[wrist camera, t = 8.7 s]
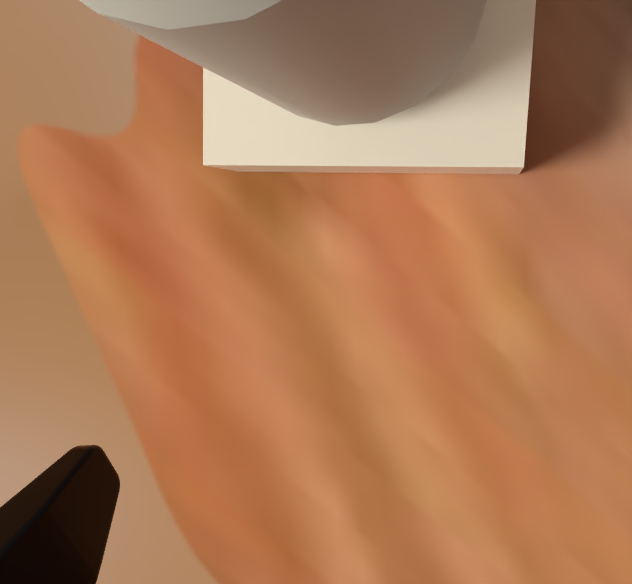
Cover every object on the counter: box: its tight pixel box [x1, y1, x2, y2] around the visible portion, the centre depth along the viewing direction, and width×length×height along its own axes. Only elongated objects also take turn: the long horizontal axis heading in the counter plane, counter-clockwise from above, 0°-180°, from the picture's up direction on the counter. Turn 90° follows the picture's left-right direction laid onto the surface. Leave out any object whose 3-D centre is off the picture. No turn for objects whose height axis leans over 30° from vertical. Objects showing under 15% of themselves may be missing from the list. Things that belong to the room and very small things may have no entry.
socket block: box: [203, 0, 536, 174], centre depth 19 cm, size 10×10×3 cm
